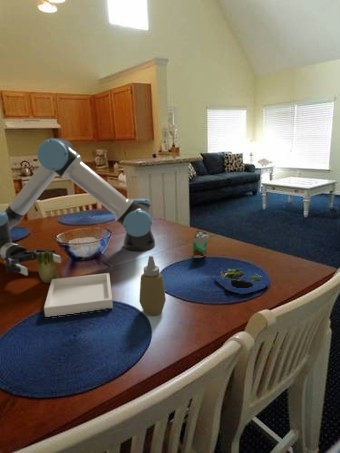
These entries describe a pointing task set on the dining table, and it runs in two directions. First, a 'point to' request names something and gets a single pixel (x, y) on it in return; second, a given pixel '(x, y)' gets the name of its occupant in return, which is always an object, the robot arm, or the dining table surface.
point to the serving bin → (78, 295)
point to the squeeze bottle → (152, 289)
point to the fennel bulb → (46, 267)
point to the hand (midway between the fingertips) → (44, 265)
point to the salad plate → (235, 275)
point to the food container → (200, 243)
